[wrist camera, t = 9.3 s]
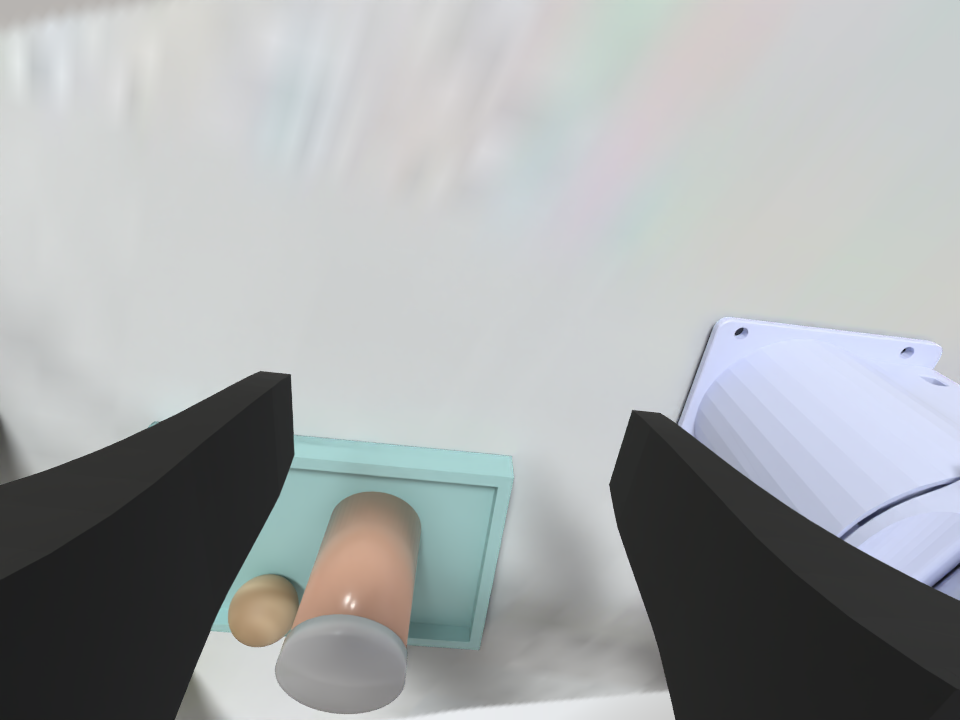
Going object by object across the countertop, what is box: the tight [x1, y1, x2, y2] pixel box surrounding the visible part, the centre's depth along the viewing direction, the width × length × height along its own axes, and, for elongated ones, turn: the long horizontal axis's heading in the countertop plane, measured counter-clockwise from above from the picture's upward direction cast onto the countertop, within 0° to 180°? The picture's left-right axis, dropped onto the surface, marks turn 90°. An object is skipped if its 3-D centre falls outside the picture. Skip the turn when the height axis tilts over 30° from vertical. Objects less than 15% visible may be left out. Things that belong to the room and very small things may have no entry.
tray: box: [148, 422, 514, 650], centre depth 25 cm, size 16×12×2 cm
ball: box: [228, 574, 299, 647], centre depth 25 cm, size 3×3×3 cm
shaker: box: [275, 491, 421, 714], centre depth 21 cm, size 5×5×7 cm
